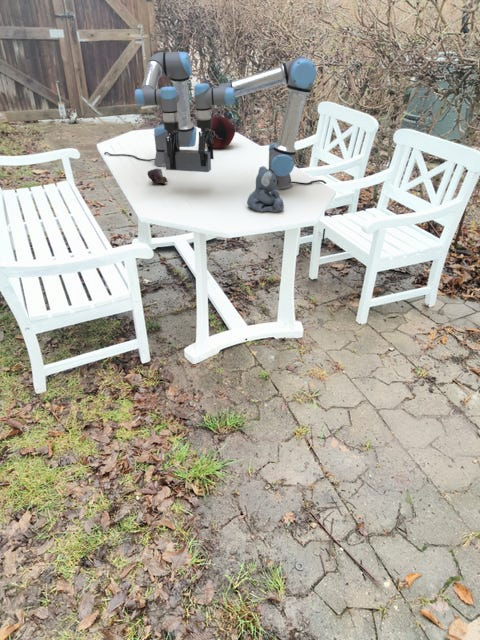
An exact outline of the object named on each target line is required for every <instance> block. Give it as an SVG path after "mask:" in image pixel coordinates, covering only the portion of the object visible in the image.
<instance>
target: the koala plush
mask: <svg viewBox="0 0 480 640" xmlns="http://www.w3.org/2000/svg"><path fill="white" fill-rule="evenodd" d="M278 184H279V181H278V180H277V179H276V177H275V176H274V174H273V173H272V171H271V170H269V168H267V166H265V165H262V166H260V167H259V168H258V172H257V175H256V178H255V190H254V191H252V192H251V193H250V195H248V198H247V201H246V205H247V207H248V208H250V209H252V210H254V211H256V212H262V213H263V212H270V213H278V212H279V213H280V212H282V211H284V209H285V205H284V201H283V198H282V197H281V196H280V192H279V190H277V189H276V190H275V187H276V186H277V185H278Z"/></svg>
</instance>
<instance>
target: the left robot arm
mask: <svg viewBox="0 0 480 640" xmlns="http://www.w3.org/2000/svg"><path fill="white" fill-rule="evenodd" d="M144 72H145V73H144V78H143V81H142V85H141V88H137V89H135V90H134V100H135V103H136V105H138V106H144V107H145V106H161V107H162V108H161V109H162V121H163V124H162V125H158V126H156V127H155V128H154V129H153V136H154V145H155V155H154V158H149V159H146V158H141V157H137V156H136V155H132V154H125V153H124V154H123V153H118V154H117V153H116V154H115V153H113V154H112V153H110V152H108V151H105V152H104V153H103V154H104V155H106V154H107V155H109V156H114V157H115V156H117V157H118V156H125V157H133V158H135V159H137V160H139V161H145V162H150V161H154V165H155V166H157V167H163V168H164V167H165V168H166V165H165V155H164V151H165V150H167V157H169V159H170V169H171V170H170V171H177V170H176V166H175V157H174V149H180V148H192V147H193V148H194V147H195V146H196V140H197V126H195V125H194V123H193V122H192V119H191V107H190V95H189V84H188V81H190V79H191V76H192V75H193V68H192V62H191V58H190V55H189V53H188V52H185V51H161V52H160V51H159V52H157V53H155V54H153V55H152V56H150V57H149V59H147V61H146V63H145V65H144ZM163 76H164V77H165V76H168V77H169V80H170V82H172V86H162V87H160V88H158V84H159V81H160V78H161V77H163ZM180 150H181V149H180Z"/></svg>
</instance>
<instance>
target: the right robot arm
mask: <svg viewBox="0 0 480 640" xmlns="http://www.w3.org/2000/svg"><path fill="white" fill-rule="evenodd" d="M316 78H317V68H316V64H315V63H314V62H313V61H312V60H311V59H309V58H308V57H306V56H298V57H295V58H293V59H291V60H288V61H285V62H282V63H281V64H280V65H279V66H276V67H274V68H271V69H268V70H264V71H261V72H257V73H254V74H251V75H247V76H244V77H241V78H238V79H235V80H231V81H229V82H222V83H219V85H217V87H211V86H210V84H209V83H204V82H203V83H196V84H195V85H194V87H193V88H194V89H193V91H194V92H193V93H194V104H195V118H196V119H197V120H196V128H198V129H200V131H198V149H197V150H198V153H200V161H201V166H206V154H205V151H206V149H207V151H210V156H211V160H214V148H213V146H214V141H213V136H212V132H211V127H212V119H211V118H212V114H213V111H212V106H230V105H235V103H236V98H238V97H241V96H244V95H245V96H246V95H248V94H251V93H256V92H258V91H262V90H265V89H269V88H271V87H274V86H278V85H282V84H283V85H286V89H287V91H288V95H287V100H286V104H285V109H284V112H283V113H284V114H283V118H282V122H281V127H280V131H279V135H278V140H277V142H273V143H270V144H269V145H268V146H269V147H268V169H269V170H271V171H272V173H273V174H274V176H275V177H276V179H277V180H278V181H279V184H278V185H277V186H276V187H275V190H276V189H277V190H278V191H279V190H280V191H281V190H287V189H290V188H291V187H292V186H293V184H295V185H304V186H305V185H311V184H314V183H320V182H321V183H323V184H325V185H326V184H327V182H326V181H325V180H324V179H315V180H311V181H309V182H299V181H293V180H292V177H291V173H292V172H293V170H294V167H295V162H294V161H295V156H296V153H297V149H296V148H295V144H296V140H297V136H298V132H299V128H300V124H301V120H302V116H303V112H304V107H305V104H306V98H307V96H308V95H310V94H311V91H312V87H313V84H314V83H315V81H316ZM206 141H207V144H208V146H207V144H206ZM206 147H207V148H206ZM325 234H326V228H323V231H322V241H321V244H322V245H324V244H325V236H326V235H325Z"/></svg>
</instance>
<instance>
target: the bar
mask: <svg viewBox="0 0 480 640" xmlns="http://www.w3.org/2000/svg"><path fill="white" fill-rule="evenodd" d="M205 154H206V166H201V161H200V153H198V149H174V157H175V166H176V170H175V171H181V172H182V171H183V172H198V173H200V172H201V173H209V172H210V171H211V170H212V159H211V156H210V151H208V150H205ZM164 155H165V165H166V167H165V171H172V170H171V169H170V159H169V157H167V150H165V151H164Z"/></svg>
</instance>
